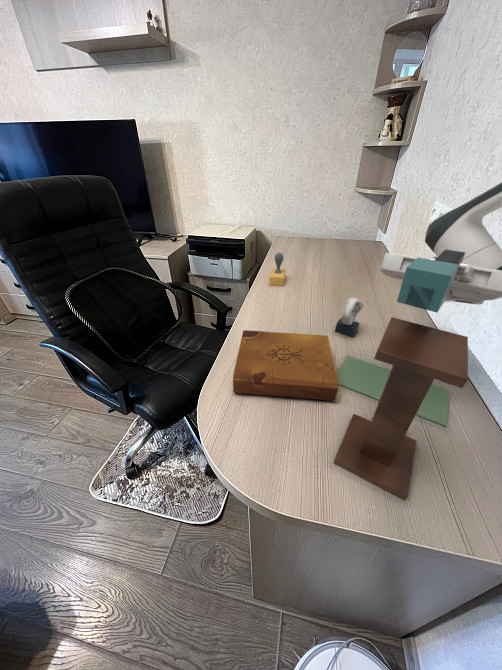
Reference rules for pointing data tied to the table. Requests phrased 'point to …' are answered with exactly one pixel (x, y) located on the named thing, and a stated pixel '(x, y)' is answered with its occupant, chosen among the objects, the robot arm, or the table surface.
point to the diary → (285, 365)
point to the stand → (401, 402)
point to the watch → (349, 318)
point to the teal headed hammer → (430, 280)
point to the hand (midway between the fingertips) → (447, 265)
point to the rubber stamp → (278, 271)
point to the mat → (373, 381)
